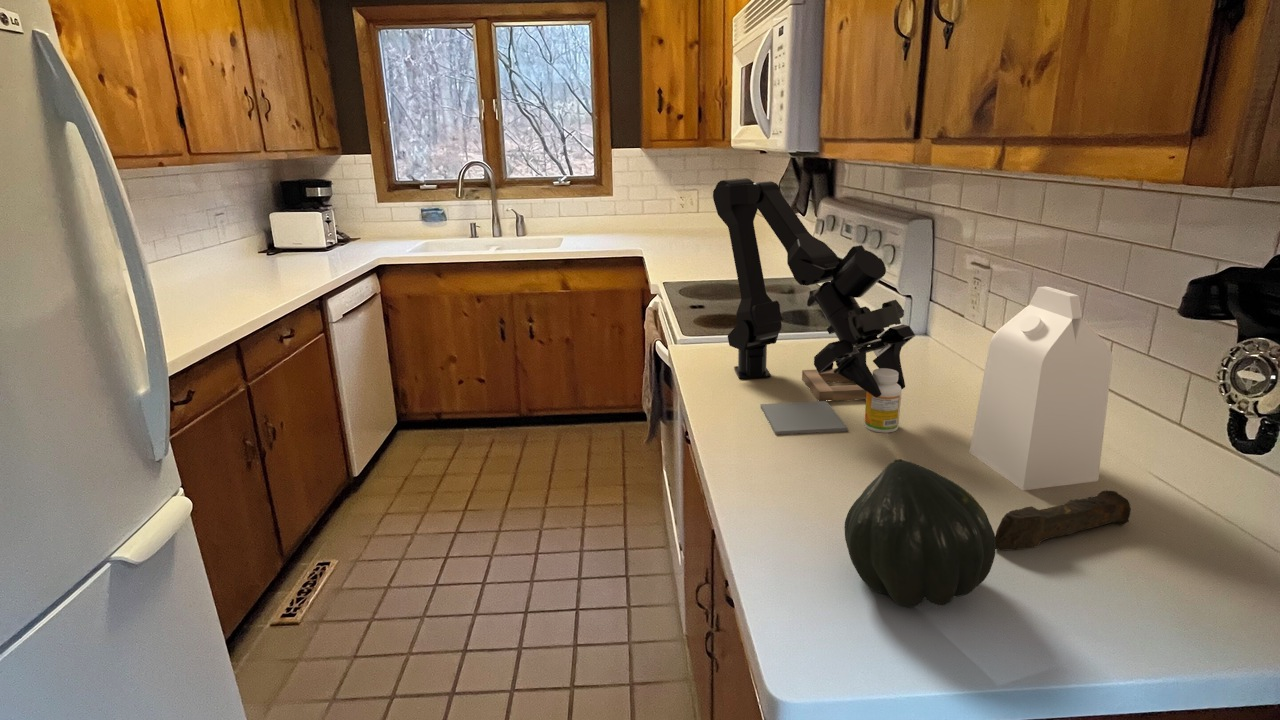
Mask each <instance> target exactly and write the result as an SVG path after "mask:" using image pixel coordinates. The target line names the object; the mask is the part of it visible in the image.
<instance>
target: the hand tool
mask: <svg viewBox="0 0 1280 720" xmlns="http://www.w3.org/2000/svg"><path fill="white" fill-rule="evenodd" d="M1131 511H1132V507H1131V504H1130V501H1129V499H1127V498H1126V497H1124V496H1123V495H1122V494H1119V493H1118V491H1115V490H1107V489H1106V490H1102V491H1100V492H1099V493H1098V494H1097V495H1094V496H1089V497H1086V498H1079V499H1078V498H1076V499H1070V500H1068V501H1067V502H1066V503H1062V504H1059V505H1056V506H1051V507H1047V508H1042V509H1039V508H1038V509H1037V508H1036V507H1034V506H1026V507H1023V508H1020V509H1013V510H1010V511H1009V512H1006V513H1005V515H1004V516H1003V517H1002V519H1001V521H1000V523H999V525H998V527H997V529H996V533H995V543H996V545H995V550H1000V551H1011V550H1012V551H1013V550H1021V549H1028V548H1029V549H1030V548H1038V547H1039V545H1040V543H1041V542H1043V541H1045V540H1048V539H1051V538H1057V537H1061V536H1069V535H1071V534H1073V533H1076V532H1079V531H1084V530H1088V529H1092V528H1097V527H1101V526H1106V525H1108V524H1113V523H1115V524H1117V525H1119V526H1124V525H1126V524H1128V522H1129V521H1130V520H1129V518H1131V517H1130V516H1131Z"/></svg>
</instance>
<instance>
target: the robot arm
mask: <svg viewBox="0 0 1280 720" xmlns="http://www.w3.org/2000/svg"><path fill="white" fill-rule="evenodd" d="M780 190H781V189H780V186H779V184H778V183H777V182H774V181H772V180H771V181H759V182H755V181H752V179H750V178H748V177H747V178H746V177H745V178H734V179H724V180H720V181H718V182H717V184H716V185H715V187H714V189H713V191H712V198H713V202H714V203H713V204H714V206H715V209H716V212H717V215H718V217H719V218H720V219H721V221H723V223H724V224H725V226H727V228H728V234H729V237H730V239H729V240H730V244H731V249H732V254H733V259H734V260H733V261H734V264H735V265H734V266H735V270H736V275H737V276H736V277H737V282H738V287H739V292H740V302H739V305H738V308H737V310H736V326H735V327H733V329H731V331H730V332H729V333H728V334H727V341H728V344H729V347H732V348H735V349H737V351H738V352H737V353H738V355H737V356H738V357H737V359H738V361H737V362H738V364H737V365H736V366H734V367H733V369H734V371H735V373H736V376H737V377H738V379H743V380H744V379H760V378H761V379H763V378H771V377H772V375H771V372H770V371H769V369H768V368H767V358H768V357H767V355H768V350H767V347H768V346H769V345H774V344H776V343H777V340H778V337H779V333H780V332H781V331H782V325H783V324H782V321H784V319H783V317H782V314H781V313H782V312H781V307H780V302H779V301H778V300H772V299H771V297H770V296H769V295H768V293H767V290H766V289H767V288H766V285H765V279H764V275H763V274H764V273H763V267H762V263H761V257H760V251H759V246H758V242H757V236H756V235H757V234H756V229H755V225H754V224H755V223H754V221H755V218H756V215H757V212H758V210H759V213H760V214H761V215H762V217H763V218H764V220H765V222H767V224H768V226H769V228H771V230H772V231H773V233H774V234H775V236H776V237H777V238H778V240H779V242H780V243H781V244H782V246H783V247H784V249H785V251H786V254H787V256H786V257H787V259H786V260H787V266H788V268H789V270H790V272H791V274H792V276H793V277H794V280H795V281H796V283H798V284H799V285H800V286H806V287H807V286H808V287H809V286H812V285H818V284H821V285H820V286H819V287H818V288H817V289H813V290H810V291H809V296H808V299H807V303H806V305H807V307H814V306H818V307H819V308H820V310H821V312H822V314H823V315H824V317H825V319H826V320H827V322H828V324H829V326H828V328H826V331H827V333H828V334H829V335H832V334H835V335H836V336H835V337H837V339H838V340H836V341H832V342H829V343H828V344H826V345H825V347H823V348H822V349H821V350H820V351H819V352H817V354H815V355H814V356H813V365H814V367H815V370H816V369H817V371H818V372H819V374H820V373H824V372H827V371H831V370H832V369H835V370H834V371H833V372H834V373H835V374H840V375H842V376H843V377H845V378H847V379H848V380H850V381H852V382H851V383H854V385H856V384H857V385H858V386H860V387H861V388H863V389H864V390H866V391H867V392H868V393H870V394H871V395H873V396H874V397H876V398H877V397H879V396H880V395H881V392H880V389H879V387H878V385H877V383H876V381H875V379H874V377H873V376H872V374H873V373H872V372H871V370H870V369H869V368H870V367H868V364H867V353H871V352H873V353H874V355H875V356H876V357H875V358H874V359H873V360H872V362H873V364H874V365H875V366H876V367H877V369H879V368H887V369H893V370H896V371H897V372H898V373H899V375H898V382H897V384H899V385H900V387H901V389H902V390H903V389H906V383H905V378H904V373H903V369H902V363H901V351H902V347H904V346H905V345H906V344H907V343H908V342H909V341H911V340H912V339H914V338H915V337H916V334H915V332H914V331H913V329H912V327H911V326H910V325H907V324H902V322H901V319H902V318H903V317H904V315H905V310H904V308H903V306H902V305H901V304H900V303H899V302H898V300H897V299H894V300H889V301H886V302H883V303H882V304H881V308H878V309H874V310H871V309H870V308H869V307H867V306H862V307H861V306H860V304H859V303H858V301H857V298H858V299H859V298H861V297H863V296H864V295H865V294H867V292H869V291H870V289H872V288H873V287H874V286H875V285H876V284H878V282H879V281H881V279H882V278H883V277H884V276H885V275H886V271H887V269H886V265H885V262H884V261H883V259H882V258H880V257H878V255H876V254H875V253H873V251H869V250H868V249H867V250H866V249H865V247H864V245H861V244H860V245H855V246H852V247H851V248H850V249H849V250H848V251H847V254H846V255H845V256H844V257H843V258H842V257H839V256H838V255H837V254H836V253H835V251H833V249H832V248H830V246H828V244H826V242H824V241H822V240H820V239H818V238H817V237H814V236H813V234H811V233H810V232H809V231H808V229H807V227H806V226H805V225H804V224H803V222H802V221H801V219H800V218H799V217H798V215H797V214H796V213H795V211H794V209H793V208H792V207H791V206H790V204H789V202H788V201H787V200H786V198H785V196H783V194H782V193H781V191H780ZM893 325H895V326H893ZM890 326H891V327H890ZM886 328H888V329H886ZM885 330H886V331H885ZM834 362H835V366H836V367H837V368H834Z"/></svg>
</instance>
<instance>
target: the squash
mask: <svg viewBox="0 0 1280 720" xmlns="http://www.w3.org/2000/svg"><path fill="white" fill-rule="evenodd" d="M995 535H996V533H995V532H994V529H993V526H992V524H991V523H990V520H989V518H988V515H987V513H986V512H985V510H984V508H983V507H982V506H981V505H980V503H979V502H978V501H977V500H976V498H975V497H974V496H973V495H972V494H971V493H970V492H969V491H967V490H966V489H965V488H963V487H962V486H961V485H959V484H957V483H955V482H954V481H953V480H951V479H949V478H947V477H945V476H943V475H941V474H939V473H938V472H935V471H934V470H932V469H929V468H927V467H925V466H922V465H920V464H917V463H916V462H915V463H914V462H912V461H908V460H905V459H902V458H900V457H899V458H894V460H893V461H892V462H891V463H889V464H888V465H887V466H885V468H884V469H882V471H881V472H880V473H879V475H878V476H877V477H876V478H875V479H873V480H872V481H871V482H870V484H868V485H867V486H866V487H865V489H864V490H863V491H862V493H861V494H860V495H859V497H858V498H857V499H856V500H855V501H854V502H853V504H852V505H851V507H850V508H849V509H848V513H847V515H846V517H845V520H844V539H845V543H846V547H847V551H848V555H849V557H850V560H851V563H852V565H853V566H854V569H855V571H856V572H857V574H858V576H859V577H860V579H861V580H862V582H863V583H864V584H865V585H866V586H867V587H868V588H870V589H871V590H872V591H873V592H876V593H879V594H883V595H889V596H890V598H891V599H892V600H893V601H894V603H896V604H898V605H899V606H901V607H905V608H913V607H916V606H919V605H920V604H922V603H923V601H924V599H926V601H927V602H929V603H930V604H932V605H936V606H945V605H947V604H950V602H951V601H952V600H953V599H954V597H961V596H962V597H963V596H966V595H968V594H970V593H971V592H973V591H974V590H975V589H976V587H978V586H980V585H981V584H982V583H983V582H984V581H985V580H986V578H987V577H988V576H989V573H990V572H991V569H992V567H993V563H994V560H995V557H996V549H995V545H996V543H995Z"/></svg>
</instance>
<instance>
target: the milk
mask: <svg viewBox="0 0 1280 720" xmlns="http://www.w3.org/2000/svg"><path fill="white" fill-rule="evenodd" d="M1080 300H1081V299H1080V295H1078V294H1075V293H1072V292H1068V291H1065V290H1062V289H1057V288H1055V287H1050V286H1038V287H1037V288H1036V290H1035V292H1034V294H1033V296H1032V298H1031V300H1030V302H1029V305H1027V306H1025V307H1024V308H1023V309H1022V310H1021V311H1019V312H1018V313H1016V314H1015V316H1013V317H1012V318H1011V319H1010V320H1009V321H1008V320H1007V322H1006V323H1005V324H1003V325H1002V326H1001V327H1000V328H998V330H997V331H996V332H995V333H994V334H993V335H992V337H991V339H990V342H989V344H988V351H987V356H986V361H985V366H984V371H983V375H982V382H981V388H980V393H979V398H978V404H977V409H976V415H975V420H974V423H973V430H972V436H971V441H970V446H969V454H971V455H972V456H974V457H975V458H976V459H978V460H980V462H982V463H983V464H985V465H986V466H988V467H989V468H991V469H992V471H993V470H994V471H995V472H996V473H998V474H999V475H1000V476H1002V477H1004V479H1006V480H1008V481H1009V482H1010V483H1012V484H1013V485H1014V486H1016V487H1017V488H1019V489H1020V490H1022V491H1030V490H1037V489H1043V488H1044V489H1045V488H1052V487H1054V488H1055V487H1060V486H1068V485H1076V484H1077V485H1078V484H1082V483H1083V484H1085V483H1093V482H1098V481H1099V477H1100V476H1099V475H1100V467H1101V458H1102V450H1103V442H1104V435H1105V426H1106V416H1107V408H1108V400H1109V399H1108V398H1109V391H1110V385H1111V375H1112V365H1113V353H1112V350H1111V348H1110V346H1109V345H1108V344H1107V343H1106V342H1105V340H1104V339H1103V338H1102V337H1101V336H1100V335H1098V333H1097V332H1096V331H1095V330H1094V329H1093V328H1092V327H1091V326H1090V325H1089V324H1088V323H1087V322H1086V321H1085V319H1083V314H1082V307H1081V303H1080Z"/></svg>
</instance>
